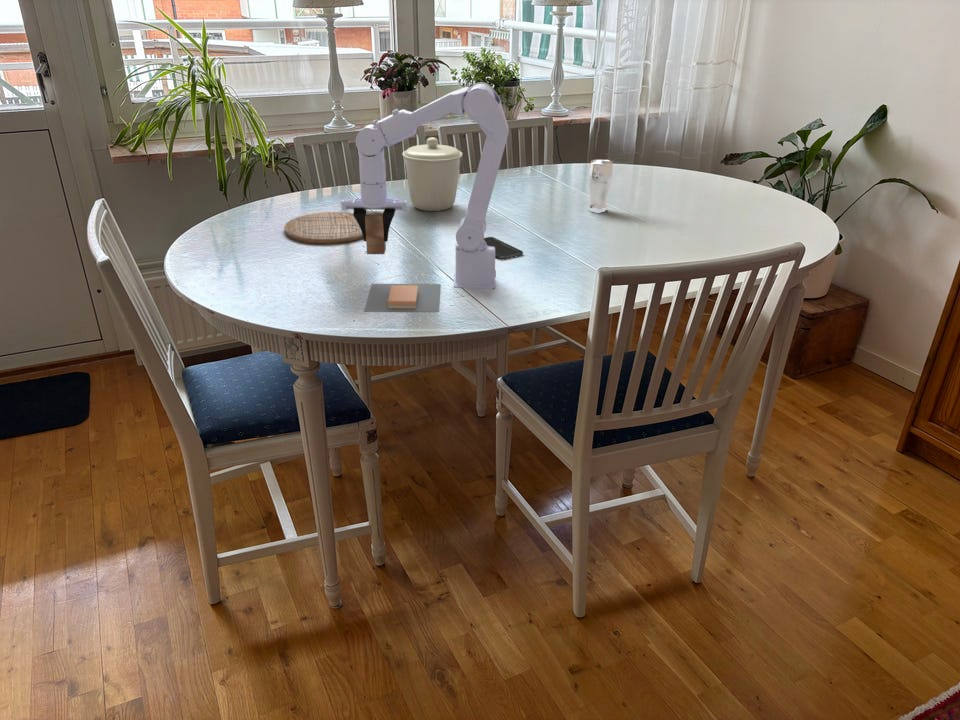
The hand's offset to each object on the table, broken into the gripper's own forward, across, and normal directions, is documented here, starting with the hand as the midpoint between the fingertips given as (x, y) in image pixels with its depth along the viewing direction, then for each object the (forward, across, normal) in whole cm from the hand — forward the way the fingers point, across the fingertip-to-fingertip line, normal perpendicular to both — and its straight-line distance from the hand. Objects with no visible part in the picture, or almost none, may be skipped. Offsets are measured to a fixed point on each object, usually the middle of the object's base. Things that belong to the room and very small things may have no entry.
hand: (376, 240), depth 171 cm
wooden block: (+3, 0, 0) cm, 3 cm away
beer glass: (+10, -62, -59) cm, 86 cm away
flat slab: (+8, -7, +9) cm, 14 cm away
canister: (+10, -11, -61) cm, 63 cm away
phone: (+10, -29, -22) cm, 38 cm away
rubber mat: (+10, -7, +12) cm, 17 cm away
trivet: (+10, +17, -37) cm, 42 cm away
